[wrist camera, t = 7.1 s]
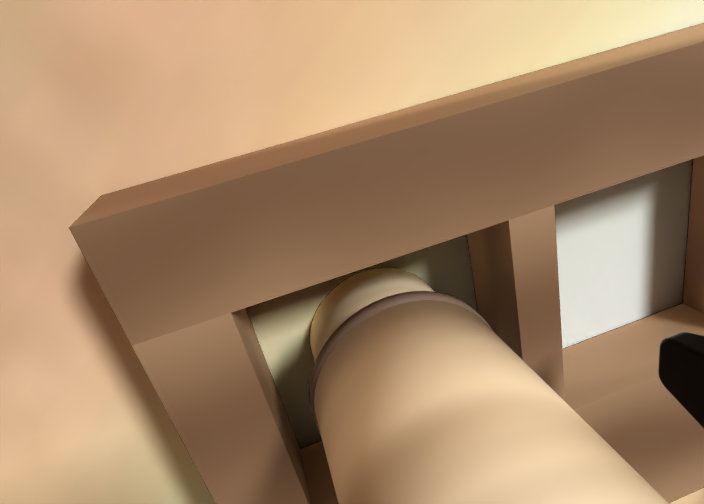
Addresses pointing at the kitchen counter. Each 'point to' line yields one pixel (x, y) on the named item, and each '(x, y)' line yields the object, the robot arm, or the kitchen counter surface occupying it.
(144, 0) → the kitchen counter surface
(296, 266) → the board
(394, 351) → the peg
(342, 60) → the kitchen counter surface
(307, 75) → the kitchen counter surface
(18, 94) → the kitchen counter surface
